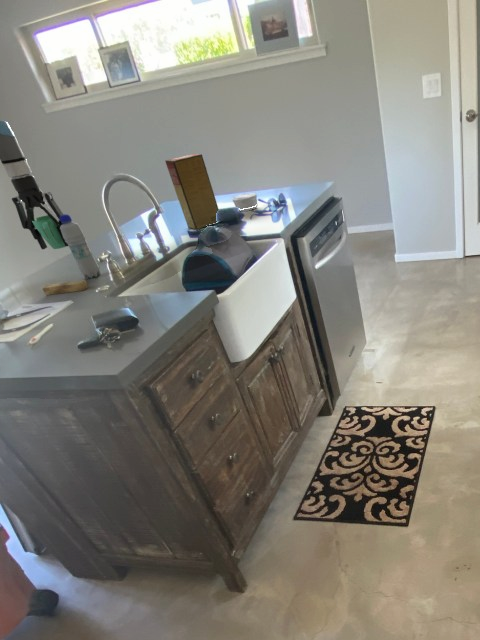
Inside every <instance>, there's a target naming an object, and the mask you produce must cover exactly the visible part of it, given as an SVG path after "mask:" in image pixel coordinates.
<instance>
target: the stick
mask: <svg viewBox="0 0 480 640" xmlns="http://www.w3.org/2000/svg"><path fill="white" fill-rule="evenodd" d="M87 289H89V285H88V283H87V281H86V279H81V280H75V281H67V282H59V283H53V284H52V283H51V284H46V285H44V286H43V287H42V290H43V292H44V294H45V295H46V296H51V295H58V294H66V293H67V294H68V293H75V292H82V291H86V290H87Z"/></svg>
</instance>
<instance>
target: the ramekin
mask: <svg viewBox="0 0 480 640" xmlns="http://www.w3.org/2000/svg"><path fill="white" fill-rule="evenodd" d="M257 197H258V195H257V193H254V192H253V193H243V194H239V195H236V196H234V197H233V198H232V199H231V200H232V202H233V204H234V206H235V208H236V207H238V208H240V209H243V208H248V207H252V206H255V205H256V204H257V206H256V207H257V208H258V199H257ZM256 207H253V208H250V209H244V210H241V211H246V212H250V211H253V210H252V209H254V210H256V209H257V208H256ZM255 208H256V209H255ZM249 210H250V211H249Z"/></svg>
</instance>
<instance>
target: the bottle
mask: <svg viewBox="0 0 480 640" xmlns="http://www.w3.org/2000/svg"><path fill="white" fill-rule="evenodd" d="M60 220H61V222H62V223H63V224H62V225H61V227H60V230H61V232H62V235H63V238H64V239H65V242H66V243H67V244H68V245H69V246H68V247H69V250H70V251H71V253H72V255H73V258H74V260H75V261H76V264H77V266H78V269H79V271H80V272H81V274H82V276H83V277H84V278H85V279H93V276H94V277H95V278H98V276H101V268H100V267H99V264H98V262H97V261H96V258H95V256H94V255H93V252H92V251H91V249H90V247H89V244H88V242H87V240H86V236H85V233H84V231H83V230H82V228H81V226H80V225H79V223H78V222H74V221H73V219H72V217H71V216H70V215H69V214H67V213H65V214H64V213H63V215H61V216H60Z"/></svg>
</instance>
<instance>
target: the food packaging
mask: <svg viewBox="0 0 480 640" xmlns="http://www.w3.org/2000/svg"><path fill="white" fill-rule="evenodd" d="M164 161H165V165H166V168H167V171H168V173H169V176H170V180H171V182H172V186H173V188H174V190H175V191H174V192H175V194H176V196H177V200H178V203H179V205H180V208H181V211H182V214H183V217H184V220H185V222H186V226H187V229H191V230H195V231H197V230H200V229H204V228H206V227H205V226H206V225H209V224H213V223H216V222H217V221H216V213H217V211H218V210H219V211H220V209H219V206H218V204H217V199H216V197H215V193H214V190H213V186H212V183H211V181H210V177H209V173H208V169H207V166H206V163H205V160H204V157H203V154H202V153H192V154H187V155H182V156H179V157H175V158H171V159H165V160H164ZM203 227H204V228H203Z"/></svg>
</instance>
